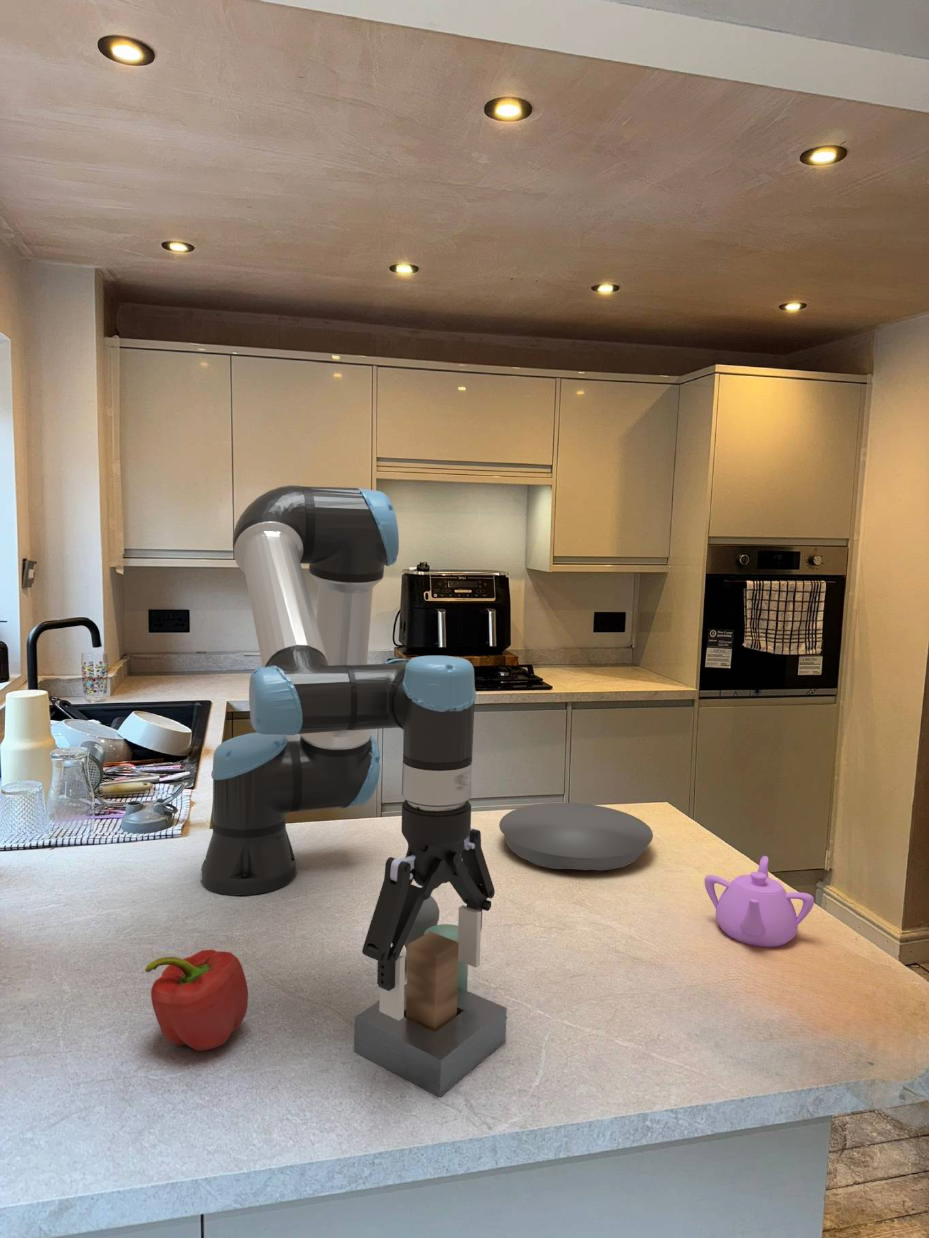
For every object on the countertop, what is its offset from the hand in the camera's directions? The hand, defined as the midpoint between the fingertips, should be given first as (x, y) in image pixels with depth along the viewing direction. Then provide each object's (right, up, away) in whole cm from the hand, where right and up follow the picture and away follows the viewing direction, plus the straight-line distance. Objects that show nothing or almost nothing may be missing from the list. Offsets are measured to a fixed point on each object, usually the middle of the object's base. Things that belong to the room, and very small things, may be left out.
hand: (432, 987), depth 91 cm
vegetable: (-26, -6, +1) cm, 27 cm away
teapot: (+46, -6, +30) cm, 56 cm away
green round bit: (+1, -6, +11) cm, 12 cm away
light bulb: (-3, -5, +18) cm, 19 cm away
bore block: (0, -7, +1) cm, 7 cm away
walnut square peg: (0, -7, +1) cm, 7 cm away
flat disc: (+24, -2, +61) cm, 66 cm away
